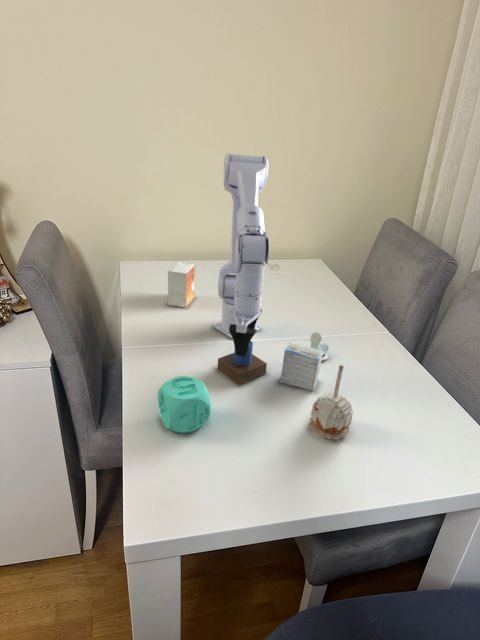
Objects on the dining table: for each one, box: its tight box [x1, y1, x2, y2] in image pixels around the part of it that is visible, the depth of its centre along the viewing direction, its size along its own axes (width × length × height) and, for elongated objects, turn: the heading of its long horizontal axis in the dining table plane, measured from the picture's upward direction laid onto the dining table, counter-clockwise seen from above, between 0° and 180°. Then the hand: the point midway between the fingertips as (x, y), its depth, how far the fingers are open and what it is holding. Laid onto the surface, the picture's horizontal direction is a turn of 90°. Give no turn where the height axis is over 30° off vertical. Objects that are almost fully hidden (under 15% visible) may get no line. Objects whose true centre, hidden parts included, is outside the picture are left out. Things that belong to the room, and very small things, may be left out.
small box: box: [167, 261, 196, 308], centre depth 141 cm, size 8×6×10 cm
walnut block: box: [216, 352, 268, 386], centre depth 113 cm, size 8×8×3 cm
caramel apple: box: [308, 364, 354, 440], centre depth 95 cm, size 8×8×15 cm
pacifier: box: [309, 331, 329, 362], centre depth 121 cm, size 7×6×6 cm
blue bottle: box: [233, 340, 254, 366], centre depth 111 cm, size 4×4×6 cm
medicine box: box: [280, 342, 323, 392], centre depth 110 cm, size 8×4×9 cm, turn 71°
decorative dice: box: [157, 375, 212, 434], centre depth 94 cm, size 8×8×8 cm
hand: (243, 346), depth 110 cm, fingers open, 7 cm apart
